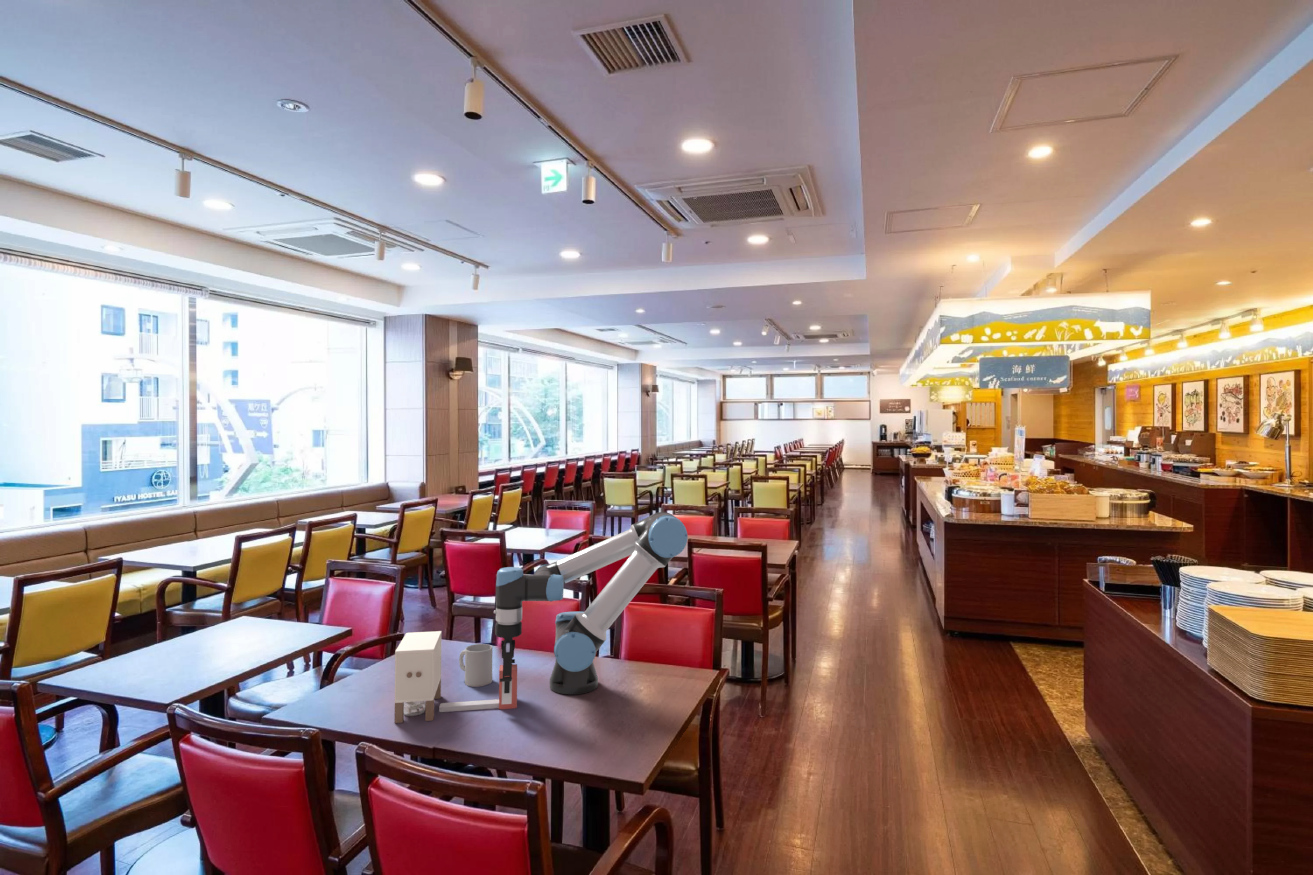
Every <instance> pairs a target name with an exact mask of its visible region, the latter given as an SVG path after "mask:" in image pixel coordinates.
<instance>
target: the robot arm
mask: <svg viewBox="0 0 1313 875" xmlns="http://www.w3.org/2000/svg"><path fill="white" fill-rule="evenodd" d="M688 538H689V537H688V531H687V528H686V526H685V525H684V523H683V521H681V519H679V518H678V517H676V516H675V515H673V514H671V513H670V512H665V511H660V512H656V513H653V514H651V515H649V516H647V517H645V518H644V519H642V520H639V521H637V522H635V523H633V524H631V526H630V527H629V529H627V530H625V531H622V532H620V533H618V534H616V535H613V536H611V537H609V538H607V539H605V540H602V541H599V542H597V543H595V544H593V545H590V546H588V547H586V548H584V549H581V550H579V551H577V552H575V553H571V554H570V555H567V556H565V557H563V558H561V559H558V560H556V561H554V562H552V563H549V564H543V565H540V566H539V567H537V569H536V570H535V571H534V573H533V574H524V570H523V568H522V567H515V566H507V567H501V568H499V570H497V572H496V573H497V574H496V583H495V610H493V614H495V621H496V623H495V624H494V625H495V627H494V628H495V633H494V634H495V636H496V637H498V638H502V639H503V640H501V641H500V649H501V659H502V660H503V661H502V665H503V678H502V679H500V682H502V704H512V664H516V661H515V660H516V659H514V657H515V649H516V640H515V639H514V638H517V637H520V636H521V635H522V629H523V627H522V626H523V622H522V620H523V602H556V601H559V602H560V601H562V600H563V599H564V587H565V586H564V585H565V584H567V583H569V582H572V581H574V580H576V579H579V578H581V577H584V576H586V575H587V574H591V573H592V572H594V571H597V570H600V569H602V568H604V567H607V566H608V565H611V564H613V563H615V562H618V561H620V560H622V559H625V558H627V557H628V558H627V559H626V561H625V562H624V563H623V564H622V566H621V567H620V568H619V569H618V570H617V572H616V573H615V574H614V575H613V576H612V577H611V579H610V580H609V581H608V582H607V583H606V585H605V586H604V587H603V589H602V590H601V591H600V592H599V594H598V595H597V596H596V597H595V599H594V600H593V601H592V602H591V603H590V605H589V606H588V607H587V608H586V610H585V611H565V612H560V613H558V614H556V616H555V622H554V624H555V639H554V640H555V641H554V647H553V654H554V658H555V661H554V662H555V663H554V665H553V668H552V672H551V674H550V678H549V688H550V690H551V691H552V692H554V693H558V694H562V695H581V694H586V693H590V692H593V691H594V690H596V689H597V688H598V686H599V677H598V673H597V670H596V667H595V664H594V660H595V658H596V654H597V651H599V649H600V648H601V647H602V645H603V644H604V643H605V642H606V641H607V631H608V629H609V628H611V626H612V625H613V624H614V623H615V621H616V620H617V619H618V617H619V616H621V614H622V612H623V611H624V610H625V609H626V608H627V606H628V605H629V604H630V602H632V601H633V599H634V597H635V596H636V595H637V594H638V593H639V592H640V591H641V589H642V587H644V585H645V584H647V582H648V581H649V579H650V578H651V577H652V576H653V575H654V573H655V572H656V571H657V570H658V569H659V568H665V567H667V565H668V564H669V563H670V562H671V560H672V559H673V558H674V557H677V556H679V554H682V552H683V551H684V549H685V548H686V547H687V543H688ZM505 676H510V677H505Z"/></svg>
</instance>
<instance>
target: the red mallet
mask: <svg viewBox="0 0 1313 875" xmlns="http://www.w3.org/2000/svg"><path fill="white" fill-rule="evenodd" d="M498 673H499V674H498V675H499V678H498V686H499V687H498V699H483V700H472V701H471V700H469V701H454V702H441V703H440V704H439V706H438V708H439V710H438V712H439V713H450V712H462V711H477V710H492V709H499V710H508V709H509V710H510V709H511V710H512V709H517V708H518V664H516V663H512V704H502V682H500V679H502V678H503V664H500V665H499V670H498ZM505 677H510V676H505Z"/></svg>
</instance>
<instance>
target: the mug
mask: <svg viewBox="0 0 1313 875" xmlns="http://www.w3.org/2000/svg"><path fill="white" fill-rule="evenodd" d="M458 663H459V668H460V670H461V671H463V672H464V684H465V685H466V686H468V687H471V688H472V687H474V688H477V687H479V688H480V687H485V686H488V685H490V684H491V683H492V682H493V645H491V644H489V643H488V644H486V643H476V644H471V645H468V646H466V647H465V649H463V650H461V652H460V653H459V658H458Z"/></svg>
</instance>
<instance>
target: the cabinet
mask: <svg viewBox="0 0 1313 875" xmlns="http://www.w3.org/2000/svg"><path fill="white" fill-rule="evenodd" d="M394 656H395V657H394V724H401V723H402V724H403V722H404V719H405V718H404V716H405V715H404V704H405V703H406V702H416V701H424V702H425V712H424V716H425V722H428V721H430V722H431V721H432V722H433V721H434V718H435V700H438V699H439V700H440V699H441V698H442V630H438V631H437V630H436V631H417V632H416V631H414V632H406V633H405V634H404V636H403V638H402V640H401V641H400V642H399V644H398V646H397V648H396V649H395V652H394Z"/></svg>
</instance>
